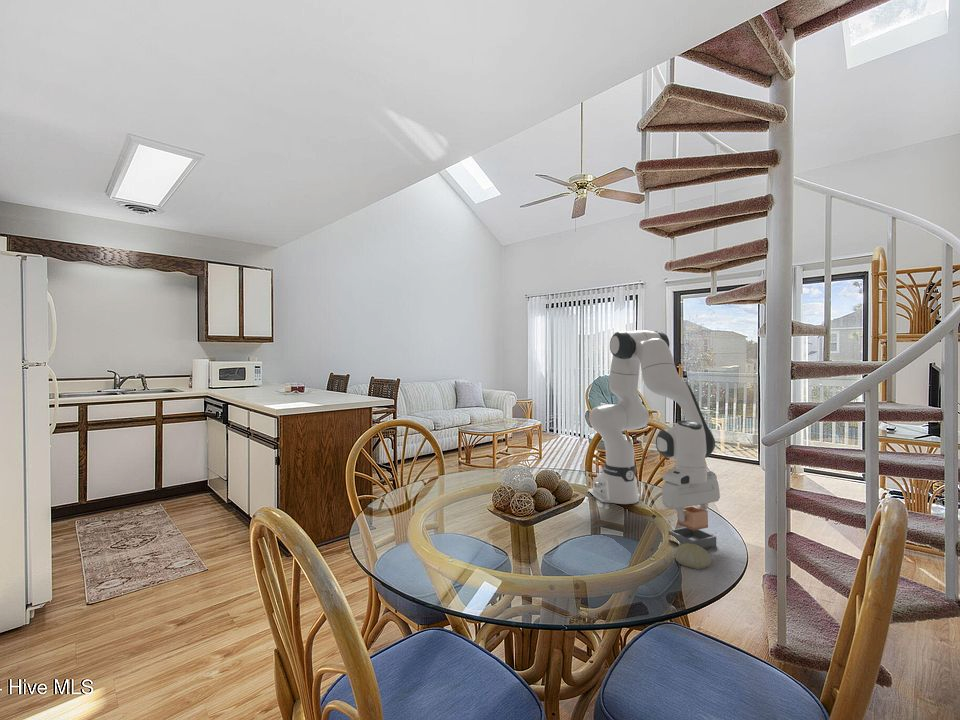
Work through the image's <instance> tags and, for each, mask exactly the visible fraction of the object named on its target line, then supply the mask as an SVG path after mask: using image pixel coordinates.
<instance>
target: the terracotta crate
mask: <svg viewBox="0 0 960 720" xmlns="http://www.w3.org/2000/svg"><path fill="white" fill-rule="evenodd" d="M676 512H677V511H676ZM683 512H684V514H685V515H687V521H680V520H679V514H678V512H677V513H676V514H677V516H676V517H677V525H679V526H682V528H684V527H686V528H688V529H691V530H693V531H694V530H699V529H700V530H703V529H708V528H709V512H708V510H703V509H700V507H697V506H696V505H694V506H688V507H684V511H683Z"/></svg>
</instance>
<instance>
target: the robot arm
mask: <svg viewBox="0 0 960 720" xmlns="http://www.w3.org/2000/svg"><path fill="white" fill-rule="evenodd" d="M670 344H671V343H670V340H669V337H668V335H667V334H666V333H664V332H662V331H658V330H654V331H652V330H645V329H644V330H643V329H639V330H628V331H627V330H621V331H620V330H619V331H617V332H614V333H613V335H612V336H611V338H610V342H609V350H610V353H611V354H612V359H611V365H610V369H609V370H610V371H609V378H608V380H609V381H608V389H609V391H610V392H611V393H612V394H613V395H615V396H616V397H617V403H610V404H601V405H598V406H595V407H593V408H592V409H591V411H590V413H589V415H588V416H589V417H588V420H589V423H590V426H591V427H592V429H594V430H595V431H596V432H597V433H598V434H599V435H600V437H601V439H602V441H603V443H604V447H605V449H604V450H605V463H601V464H602V468H603V470H602V472H601V473H600V474H598V476H596V477H595V478H594V479H593V483H592V485H593V487H591V488H588V489H587V492H588V491H589V492H590V493H591V494H592V495H593V496H592V495H591V494H590V493H589V494H590V495H591V496H592V497H594V498H595V499H597V500H598V501H599V502H602V503H611V504H619V505H631V504H637V503H638V502H640V497H641V494H640V493H639V489H638V479H637V477H636V475H637V473H636V472H637V468H636V465H635V447H634V445H633V444H632V443H631V442H630V441H629V440H626V439H625V438H624V434H623V431H635V430H636V431H637V430H639V429H642V428H645V427H646V426H647V425H648V423H649V421H650V413H649V411H648V408H647V407H646V406H645V405H643V404H642V402H641V400H640V398H639V389H638V388H639V386H638V385H639V378H640V377H639V376H640V371H641V375H642V379H643V382H644V385H645V386H646V388H647V389H649V390H650V391H651V392H652V393H654V394H657V395H658V396H662V397H665V398H668V399H670V400H672V401H674V402H676V403H677V404H678V405H679V408H680V409H681V410H682V414H683V416H684V418H685V420H680V421H677V422H676V423H675V425H674V426H671V427H669V428H664V429H661V430H659V432H657V435H656V438H655V448H656V451H657V452H658V453H659V454H660V455H661V456H663V458H669V459H675V464H674V465H675V466H674V467H672V468H671V469H670V470H669V469H668V470H667V471H666V472H664V473H663V474H662V480H663V481H664V482H663V484H662V489H661V493H662V494H661V496H662V497H661V500H662V504H663V505H664V507H665V508H668V509H670V510H676V512H678V514H679V520H680V521H687V515H685V514H684V512H683V511H684V507H688V506H699V508H700V509H703V510H706V511H708V507H709V504H711V503H715V502H719V501H720V498H721V495H720V494H721V493H720V486H719V485H720V484H719V482H718V479H717V477H718V476H717V474H716V473H715V472H714V471H711V470H710V471H708V464H707V461H706V458H708V457H710V456H711V455H712V454H713V452H714V450H715V448H716V439H715V437H714V435H713V433H712V431H711V430H710V428H709V426H708V425H707V423H706V420H705V417H704V415H703V413H702V410H701V408H700V405H699V403H698V401H697V399H696V396H695V394H694V392H693V390H692V388H691V386H690V385H689V383H687V382H685V380H684V379H683V378H681V376H680V374H679V373H678V370H677V368H676V365H675V360H674V357H673V354H672V351H671V349H670ZM640 368H641V370H640Z"/></svg>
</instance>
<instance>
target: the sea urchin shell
mask: <svg viewBox="0 0 960 720" xmlns="http://www.w3.org/2000/svg"><path fill="white" fill-rule="evenodd" d="M674 558H676V559H675V560H676V562H677V561H678V562H679V563H678V562H677V563H678V564H680V565H681V564H682V565H683V567H688V568H691V569H695V570H700V569H701V570H702V569H705V568H708V567H709V566H710V565H711V564H712V557H711V555H710V552H708V551H707V550H706V549H703V548H702V547H700V546H698V545H695V544H689V543H686V544H680V545H677V547H675V550H674Z"/></svg>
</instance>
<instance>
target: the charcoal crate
mask: <svg viewBox="0 0 960 720" xmlns="http://www.w3.org/2000/svg"><path fill="white" fill-rule="evenodd" d="M669 535H672V536H674V537H675V538H676V539H677V540H678V541H679V542H680V543H681V544H686V543H689V544H695V545H698V546H700V547H702V548H703V549H705V550H706V549H707V550H708V549H711V548H717V536H716V535H713V534H711V533H708V532H706V531H704V530H703V529H699V530H694V531H693V530H691V529H688V528H686V527H680V528H674V529H670V530H668V536H669Z"/></svg>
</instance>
